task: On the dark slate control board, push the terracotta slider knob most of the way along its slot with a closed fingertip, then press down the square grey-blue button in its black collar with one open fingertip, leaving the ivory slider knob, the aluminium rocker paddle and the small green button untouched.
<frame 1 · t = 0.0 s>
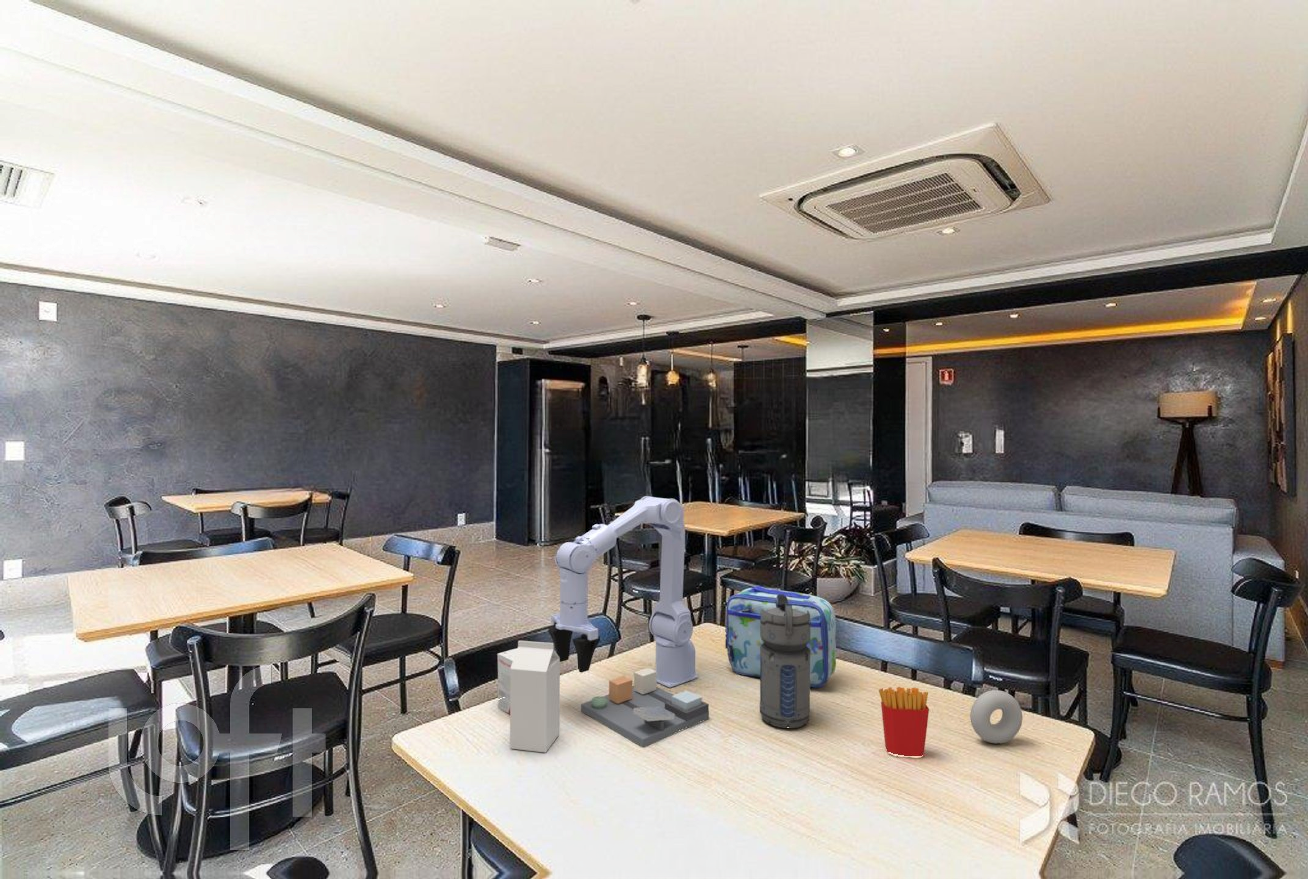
hand: (573, 665, 127), 10 cm above the table, tool pointing down, fingers open, 7 cm apart
donut: (996, 743, 116), on the table
ivory slider: (645, 680, 135), point 4 cm above the table, slide at 0.0 cm
terracotta slider: (620, 689, 131), point 4 cm above the table, slide at 0.0 cm
ink box: (517, 711, 129), on the table
aluminium rocker: (653, 713, 119), point 4 cm above the table, hinge at -14.0°
lunch box: (778, 677, 148), on the table
milk carton: (535, 743, 116), on the table
french fries: (903, 753, 112), on the table
control board: (644, 714, 127), on the table
grey button: (686, 700, 126), point 4 cm above the table, slide at 0.0 cm
beverage bottle: (783, 718, 126), on the table
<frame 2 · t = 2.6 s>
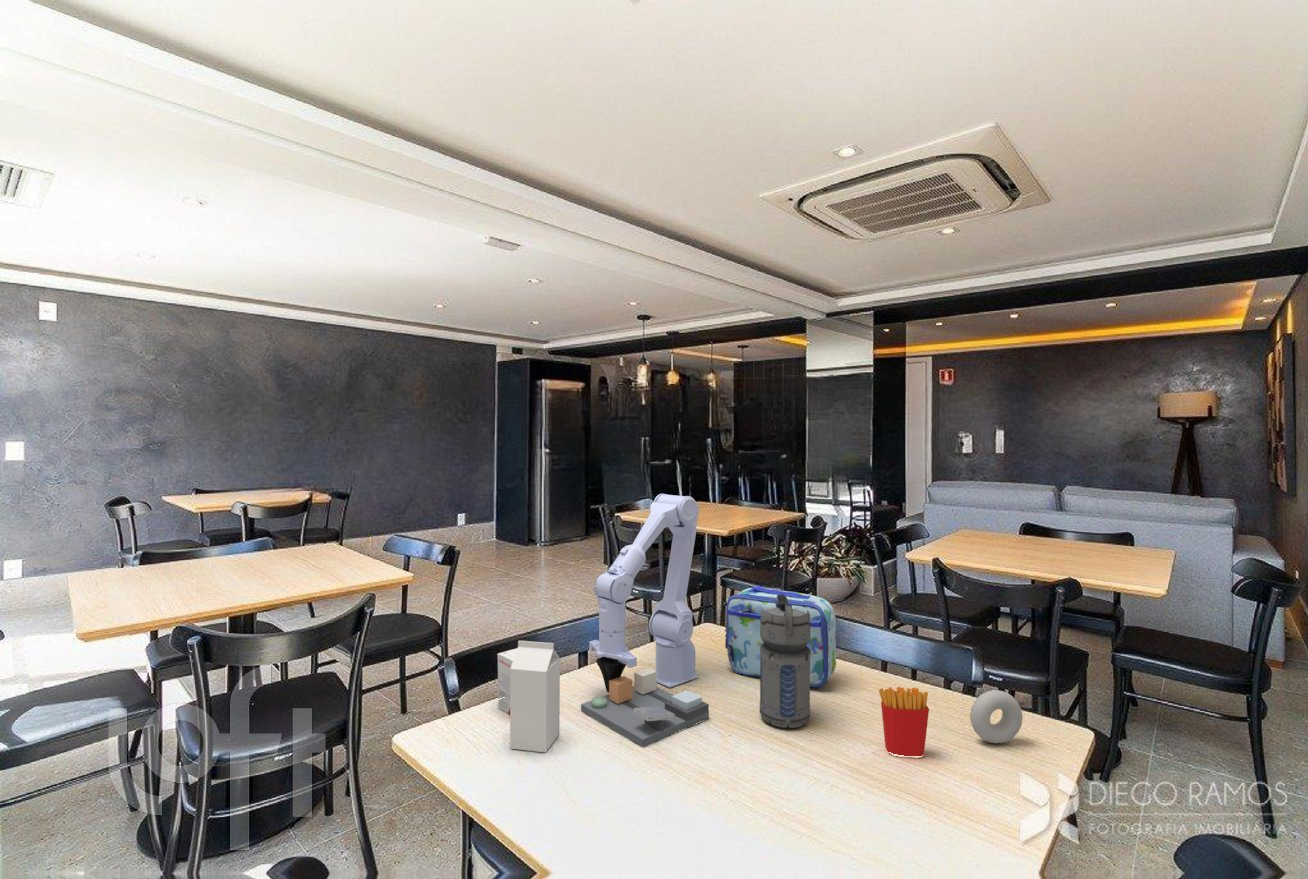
hand: (611, 691, 133), 3 cm above the table, tool pointing down, fingers closed
terracotta slider: (620, 689, 131), point 4 cm above the table, slide at 0.0 cm, touching gripper
everything else where it was.
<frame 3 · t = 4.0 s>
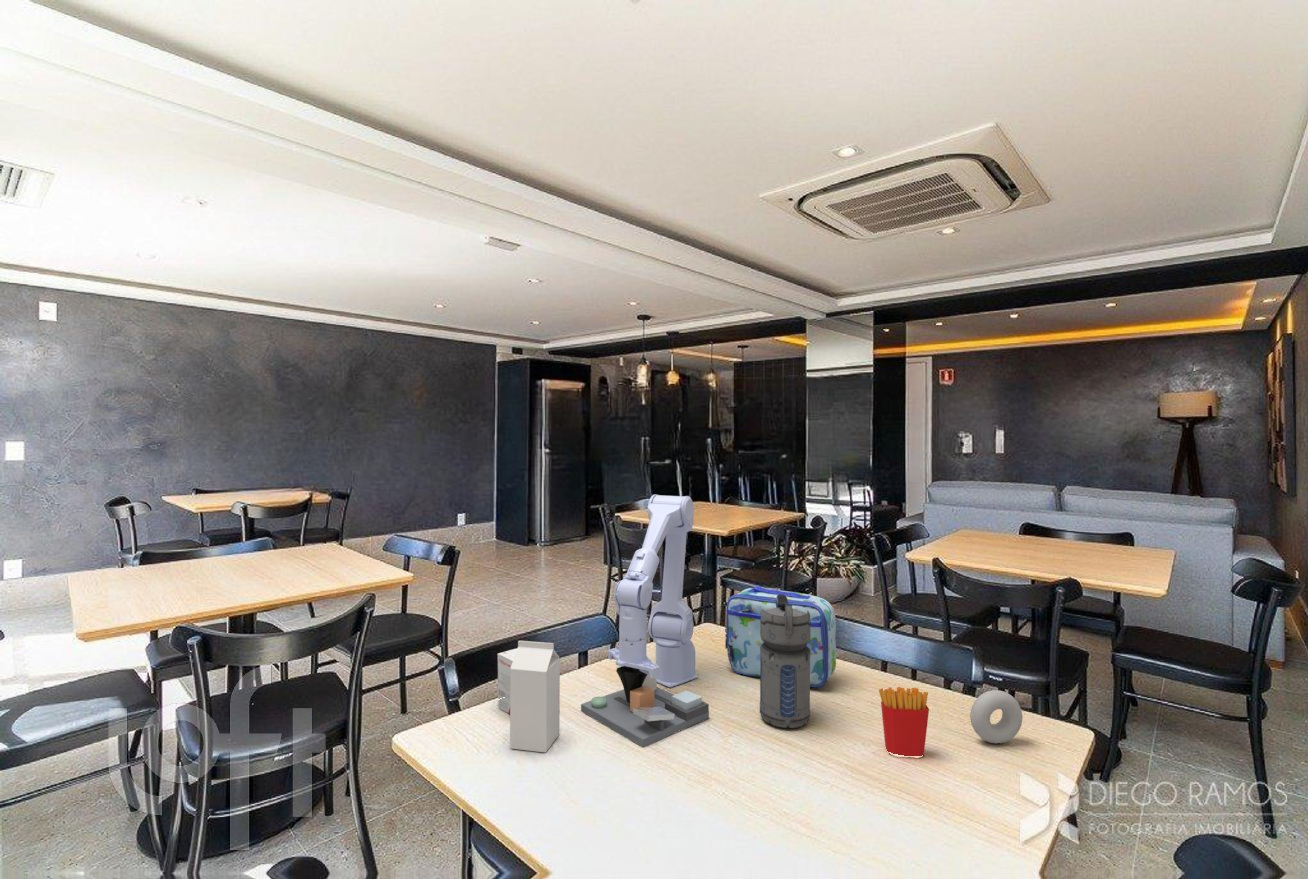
hand: (632, 701, 128), 3 cm above the table, tool pointing down, fingers closed
terracotta slider: (642, 700, 125), point 4 cm above the table, slide at 7.1 cm, touching gripper
everything else where it was.
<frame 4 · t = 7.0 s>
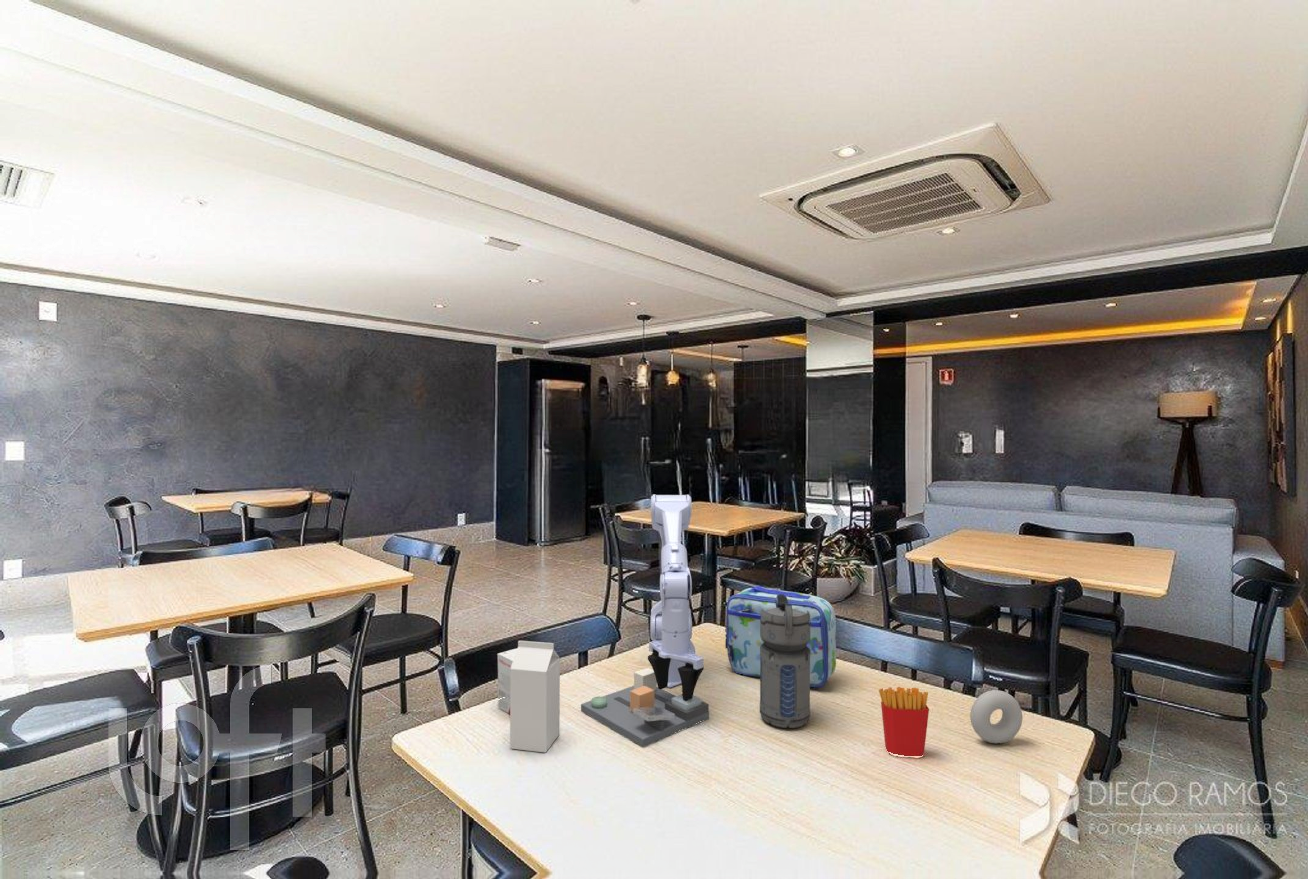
hand: (674, 693, 128), 4 cm above the table, tool pointing down, fingers open, 7 cm apart
terracotta slider: (642, 700, 125), point 4 cm above the table, slide at 7.1 cm
grey button: (686, 702, 126), point 3 cm above the table, slide at 0.4 cm, touching gripper
everything else where it was.
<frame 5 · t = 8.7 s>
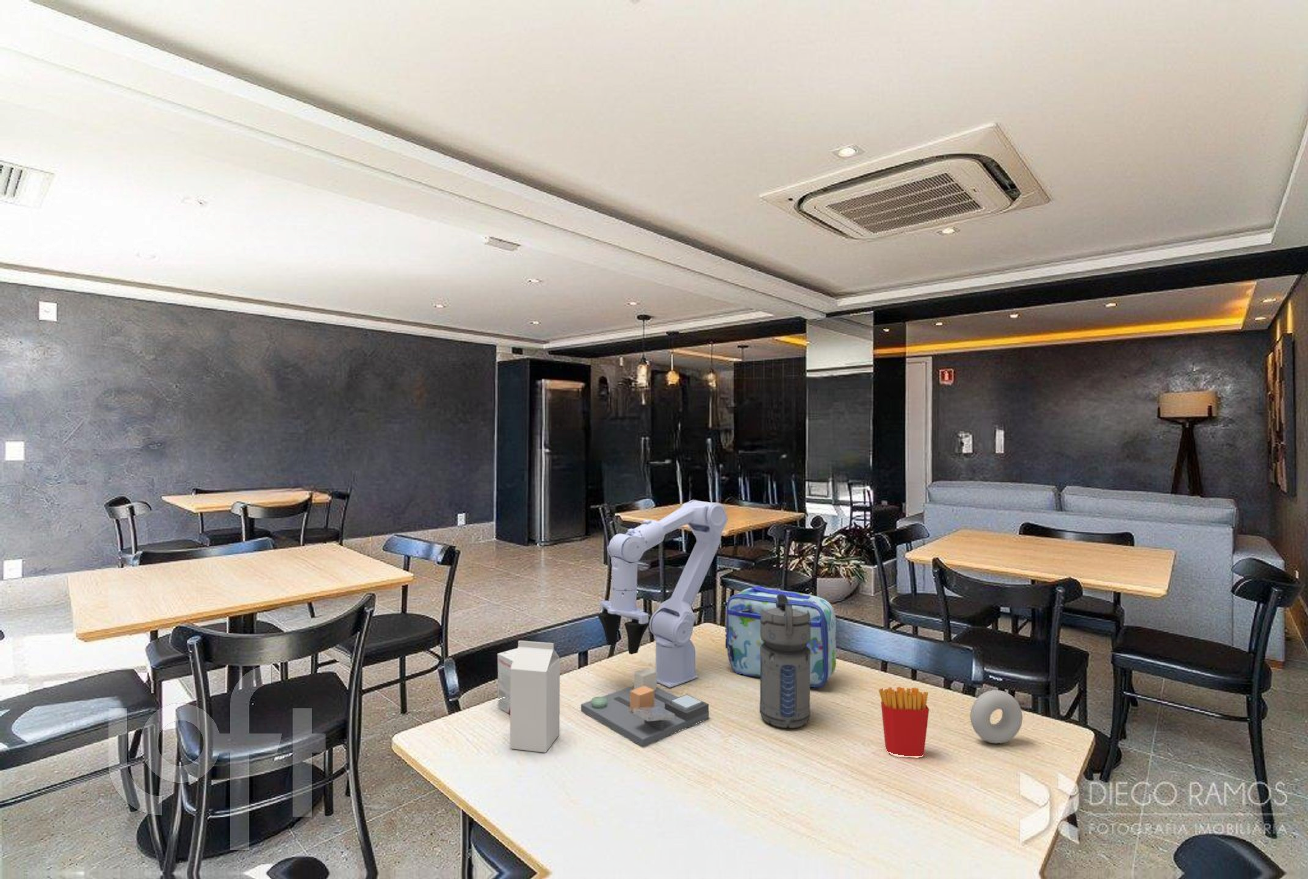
hand: (622, 648, 137), 10 cm above the table, tool pointing down, fingers open, 7 cm apart
grey button: (686, 704, 126), point 3 cm above the table, slide at 0.9 cm
everything else where it was.
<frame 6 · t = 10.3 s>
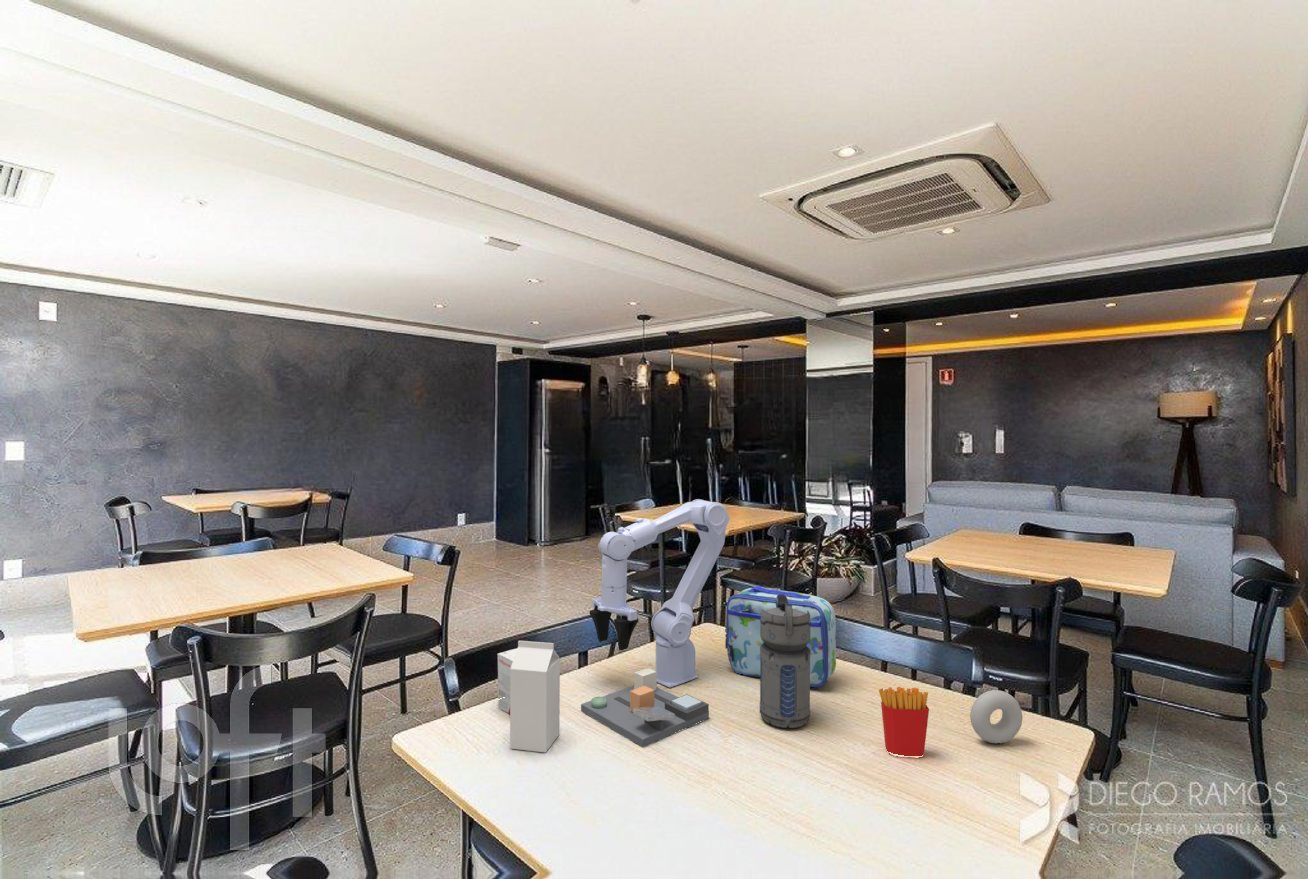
hand: (612, 644, 139), 10 cm above the table, tool pointing down, fingers open, 7 cm apart
nothing on the table moved.
at the end: terracotta slider slide at 7.1 cm; grey button slide at 0.9 cm; ivory slider slide at 0.0 cm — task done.
